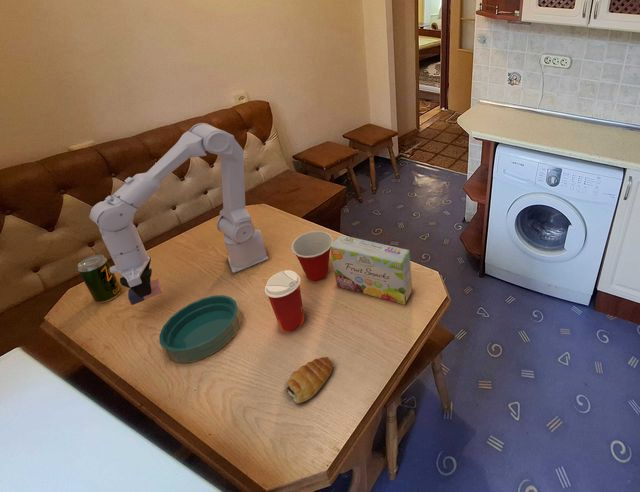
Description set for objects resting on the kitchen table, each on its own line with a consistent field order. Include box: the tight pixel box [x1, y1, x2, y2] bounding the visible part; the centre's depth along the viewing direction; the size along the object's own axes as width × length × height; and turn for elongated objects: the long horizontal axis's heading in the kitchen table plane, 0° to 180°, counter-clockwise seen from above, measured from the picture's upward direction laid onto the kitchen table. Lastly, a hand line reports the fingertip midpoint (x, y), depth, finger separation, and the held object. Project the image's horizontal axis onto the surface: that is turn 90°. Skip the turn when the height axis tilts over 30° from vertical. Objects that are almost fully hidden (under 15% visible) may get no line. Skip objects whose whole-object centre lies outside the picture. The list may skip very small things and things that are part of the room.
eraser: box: [126, 278, 163, 306], centre depth 89 cm, size 6×3×3 cm, turn 131°
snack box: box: [330, 234, 413, 305], centre depth 97 cm, size 21×6×15 cm, turn 74°
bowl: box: [158, 294, 242, 364], centre depth 85 cm, size 15×15×4 cm
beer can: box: [77, 254, 122, 304], centre depth 94 cm, size 5×5×12 cm
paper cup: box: [264, 269, 305, 333], centre depth 87 cm, size 8×8×14 cm
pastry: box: [284, 356, 334, 404], centre depth 76 cm, size 9×7×4 cm
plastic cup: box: [290, 230, 334, 283], centre depth 102 cm, size 11×11×12 cm
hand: (145, 290), depth 89 cm, fingers closed on eraser, 3 cm apart
